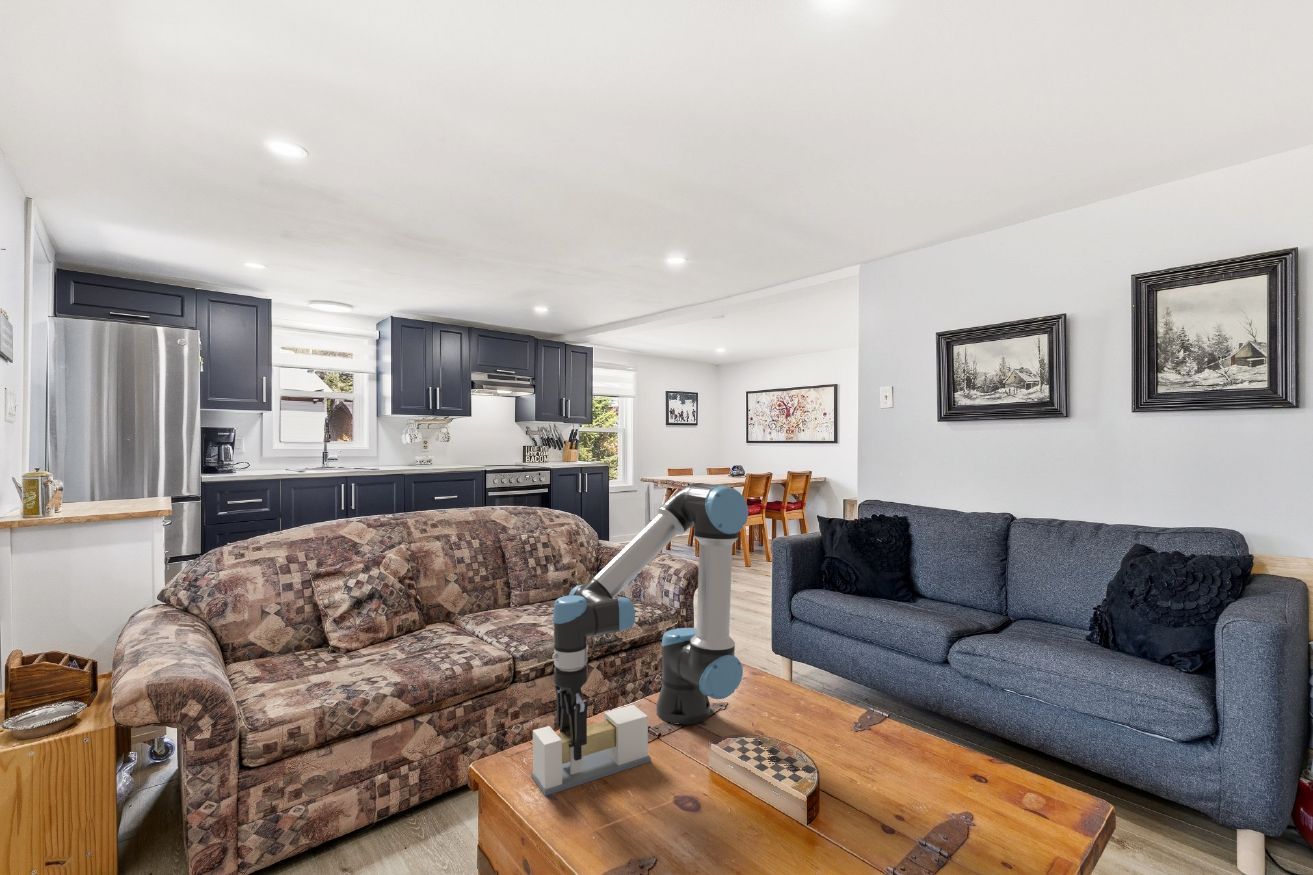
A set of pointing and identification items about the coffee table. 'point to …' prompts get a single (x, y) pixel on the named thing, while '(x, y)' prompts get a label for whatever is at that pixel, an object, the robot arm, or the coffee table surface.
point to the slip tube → (591, 739)
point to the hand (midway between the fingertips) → (571, 766)
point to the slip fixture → (596, 765)
